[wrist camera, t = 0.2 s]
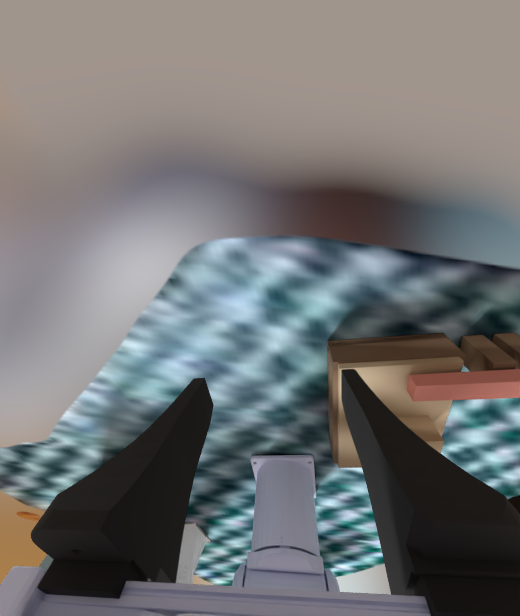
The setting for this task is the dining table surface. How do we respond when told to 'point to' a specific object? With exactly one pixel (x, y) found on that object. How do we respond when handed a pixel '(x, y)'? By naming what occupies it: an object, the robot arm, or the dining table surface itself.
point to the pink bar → (464, 385)
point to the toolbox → (473, 351)
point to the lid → (398, 400)
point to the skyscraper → (190, 552)
